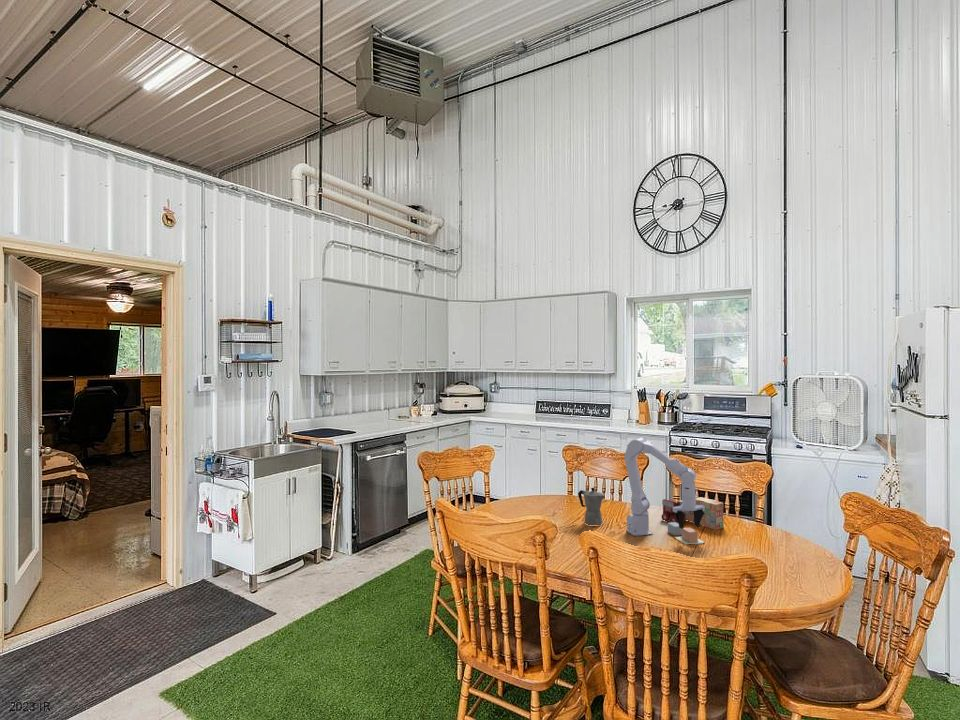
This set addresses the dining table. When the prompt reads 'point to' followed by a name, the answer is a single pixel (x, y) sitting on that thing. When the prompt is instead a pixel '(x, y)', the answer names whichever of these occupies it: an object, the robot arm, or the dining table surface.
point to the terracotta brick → (690, 535)
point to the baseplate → (689, 542)
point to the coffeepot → (592, 506)
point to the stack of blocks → (708, 513)
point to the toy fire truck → (670, 511)
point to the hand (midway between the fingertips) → (689, 527)
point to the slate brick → (674, 528)
